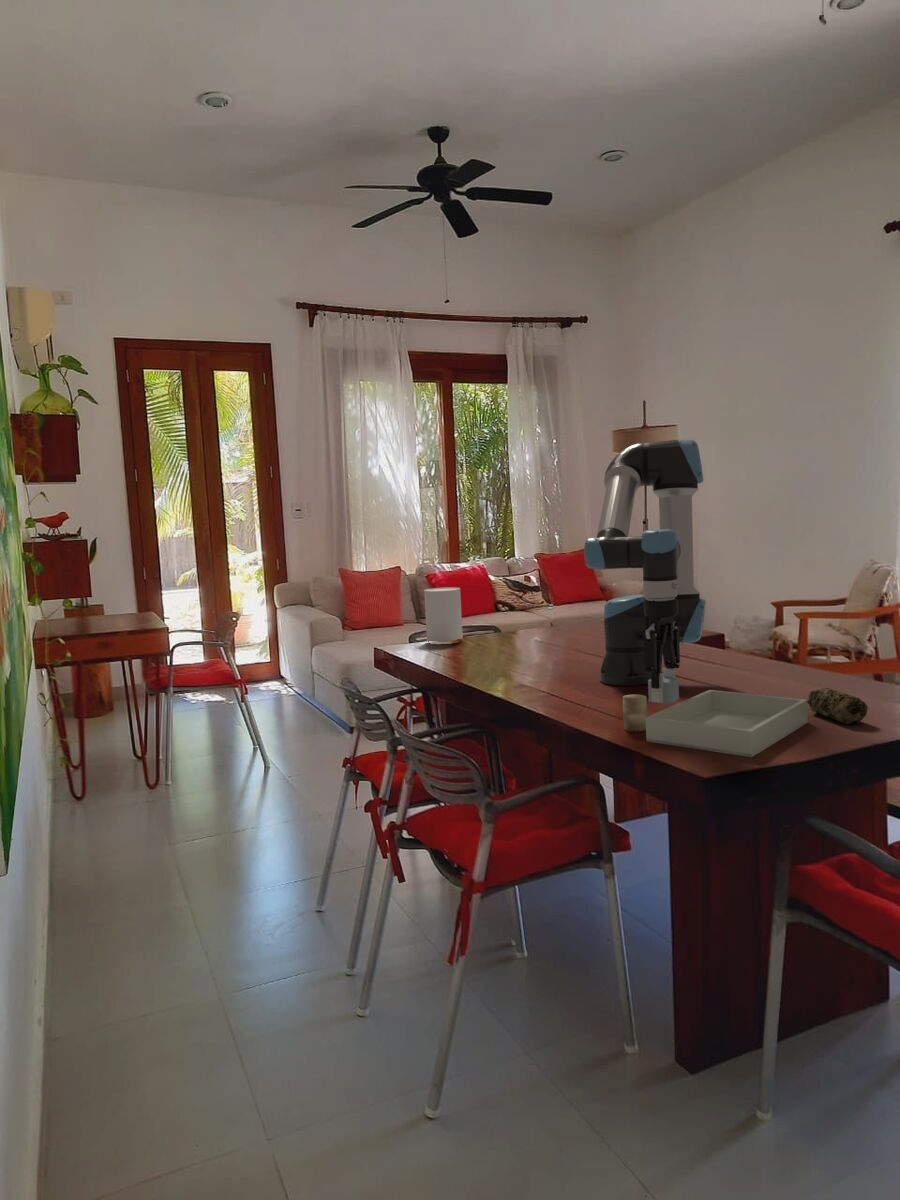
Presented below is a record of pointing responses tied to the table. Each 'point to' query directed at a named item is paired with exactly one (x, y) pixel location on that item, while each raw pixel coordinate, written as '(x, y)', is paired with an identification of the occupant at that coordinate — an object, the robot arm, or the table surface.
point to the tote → (727, 722)
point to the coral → (837, 705)
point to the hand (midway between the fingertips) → (663, 698)
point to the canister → (443, 614)
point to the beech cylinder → (634, 712)
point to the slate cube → (667, 690)
